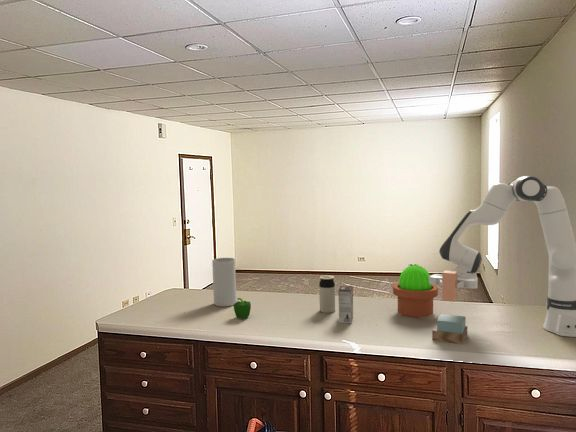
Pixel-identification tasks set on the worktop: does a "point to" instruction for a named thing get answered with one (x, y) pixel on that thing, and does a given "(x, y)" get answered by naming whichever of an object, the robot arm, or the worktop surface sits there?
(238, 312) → the bell pepper
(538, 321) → the worktop surface
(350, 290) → the coffee box
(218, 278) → the cylinder vase
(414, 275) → the potted cactus
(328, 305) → the travel mug
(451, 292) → the terracotta tall block
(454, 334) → the walnut base block
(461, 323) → the grey-teal top block
